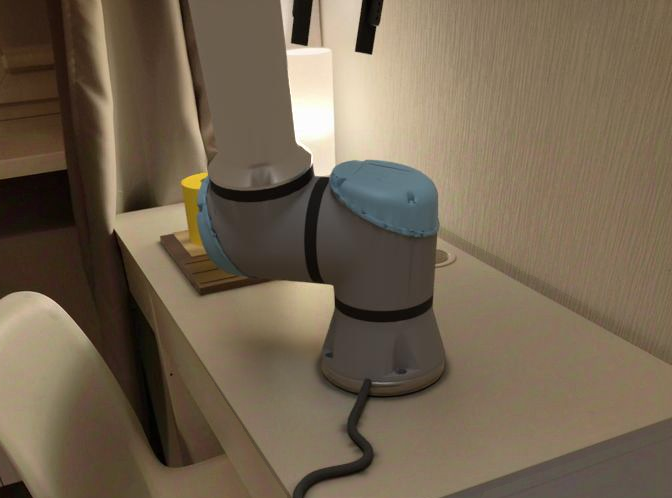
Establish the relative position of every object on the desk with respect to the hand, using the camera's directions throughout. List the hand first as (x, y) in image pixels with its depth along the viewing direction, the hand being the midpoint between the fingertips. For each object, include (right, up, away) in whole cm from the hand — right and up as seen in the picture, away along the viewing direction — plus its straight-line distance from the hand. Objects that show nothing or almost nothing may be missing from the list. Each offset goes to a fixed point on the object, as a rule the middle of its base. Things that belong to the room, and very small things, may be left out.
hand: (329, 49), depth 103 cm
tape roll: (-19, -19, +23) cm, 36 cm away
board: (-17, -24, +19) cm, 35 cm away
